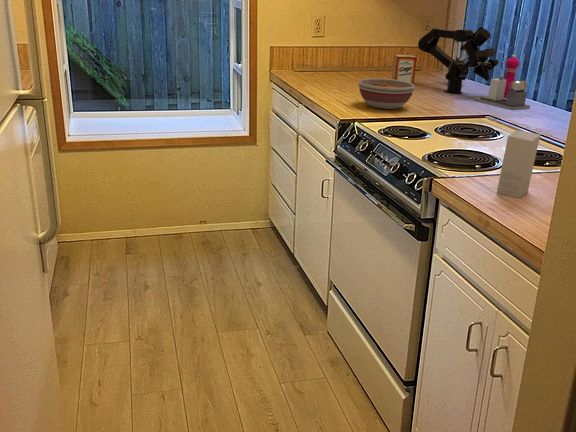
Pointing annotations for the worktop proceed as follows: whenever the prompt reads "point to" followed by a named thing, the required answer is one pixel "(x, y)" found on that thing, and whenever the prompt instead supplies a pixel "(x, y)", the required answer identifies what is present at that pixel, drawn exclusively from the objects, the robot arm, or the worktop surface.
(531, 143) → the skincare box
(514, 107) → the base
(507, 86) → the pepper mill
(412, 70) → the orange white cardboard box
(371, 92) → the bowl
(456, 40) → the robot arm
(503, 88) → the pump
